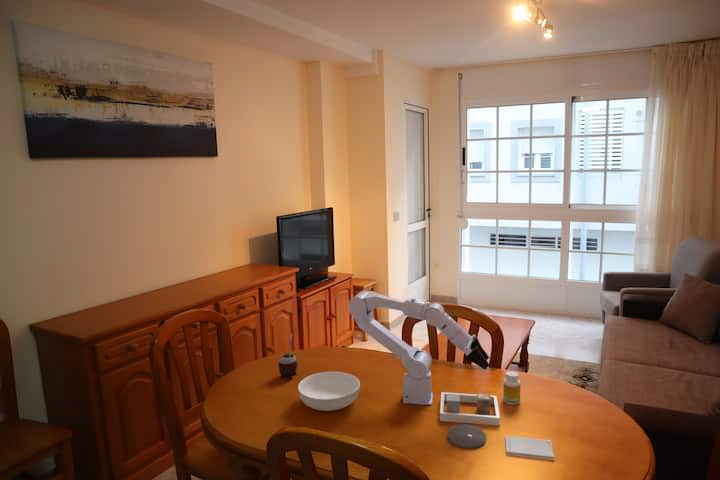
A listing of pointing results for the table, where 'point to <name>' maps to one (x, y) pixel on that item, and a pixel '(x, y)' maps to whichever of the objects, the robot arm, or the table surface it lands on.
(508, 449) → the hard drive
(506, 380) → the supplement bottle
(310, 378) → the serving bowl
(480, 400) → the labelled walnut box
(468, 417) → the white rectangular frame
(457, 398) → the plain grey box
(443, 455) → the table surface
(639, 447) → the table surface
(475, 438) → the slate pad
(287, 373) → the mate gourd
